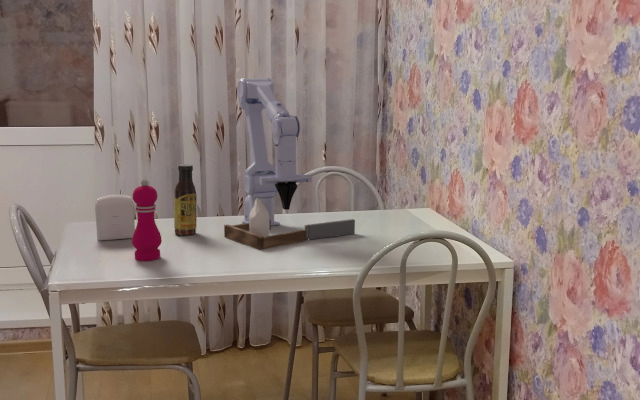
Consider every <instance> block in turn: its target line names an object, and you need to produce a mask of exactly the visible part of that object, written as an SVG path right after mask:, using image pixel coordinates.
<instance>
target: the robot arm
mask: <svg viewBox="0 0 640 400" xmlns="http://www.w3.org/2000/svg"><path fill="white" fill-rule="evenodd" d="M237 83H238V84H237V97H238V98H237V99H238V104H239V108H240V109H242V110H244V113H245V121H246V128H247V136H248V141H249V148H250V149H249V152H250V157H251V165H249V166H248V167H247V168H246V169H245V171H244V173H243V174H244V176H243V177H244V179H243V186H244V191H245V193H246V194H247V195H246V197H245V199H244V201H243V202H244V203H243V207H244V209H243V211H244V212H243V213H244V217H243V219H244V220H241V224H244V223H249V215H250V212H251V210H252V208H253V207H254V203H255V200H256V198H258V199H260V200H261V202H262V204H263V205H264V206H265V207H266V209H267V210H268V213H269V220H271V227H272V226H279V225H281V222H279V221H276V220H275V197H276V196H277V193H278V196H279V198H280V201H281V205H282V210H286V211H287V210H290V209H291V208H290V207H291V203H292V200H293V197H294V194H295V193H296V191H297V189H298V184H297V183H312V181H313V177H312V174H297V138H298V137H299V135H300V132H301V123H300V120H299V118H298V116H296V115H292V114H290V113H289V111H288V110H287V108H286V106H285V105H284V103H283V102H281V101H278V100H277V98H276V96H275V83H274V81H273V79H272V78H270V77H267V78H244V77H241V78H240V79H239V80H238V82H237ZM263 110H264V113H265V116H266V117H267V119H268V120H269V122H270V124H271V132H272V136H273V144H275V166H274V164H272V163H270V161H269V157H268V151H267V143H266V135H265V129H264V119H263Z"/></svg>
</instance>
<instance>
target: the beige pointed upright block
mask: <svg viewBox="0 0 640 400" xmlns="http://www.w3.org/2000/svg"><path fill="white" fill-rule="evenodd" d="M269 225H270V224H269V213H268V210H267V209H266V207H265V206H264V205H263V204H262V202H261V200H260V199H258V198H256V200H255V203H254V207H253V208H252V210H251V212H250V215H249V229H250V232H252V233H255V234H258V235H261V236H264V237H266V236H271V235H270V234H271V233H270V232H271V230H270V227H269Z"/></svg>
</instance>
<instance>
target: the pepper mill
mask: <svg viewBox="0 0 640 400" xmlns="http://www.w3.org/2000/svg"><path fill="white" fill-rule="evenodd" d="M157 200H158V192H157V190H156V188H155V187H153V186H150V185H149V181H148V180H147V179H146V178H145V179H141V182H140V185H139V186H137V187H136V188H135V189H134V190H133V192H132V201H133V203H135V204H136V205H134V207H135V209H134V212H136V214H137V222H136V226H135V227H136V228H135V231H134V234H133V237H132V238H131V243H132V244H131V245H132V246H133V247H134V249H135V251H134V259H135V260H136V261H141V262H150V261H155V260H159V259H160V258H161V249H159V247H160V246H161V244H162V242H163V240H162V234H161V232H160V230H159V228H158V226H157V223H156V220H155V212H156V210H157V208H156V206H157V205H156V204H155V203H156V202H157Z"/></svg>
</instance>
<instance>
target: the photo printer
mask: <svg viewBox="0 0 640 400" xmlns="http://www.w3.org/2000/svg"><path fill="white" fill-rule="evenodd" d="M134 207H135V205H134V200H133V198H132V196H130V195H125V194H108V195H103V196H101V197H98V198H96V202H95V208H94V212H95V226H96V238H97V241H100V242H101V241H113V240H122V239H123V240H125V239H132V237H133V234H134V231H135V229H136V228H135V227H136V226H135V209H134Z"/></svg>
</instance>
